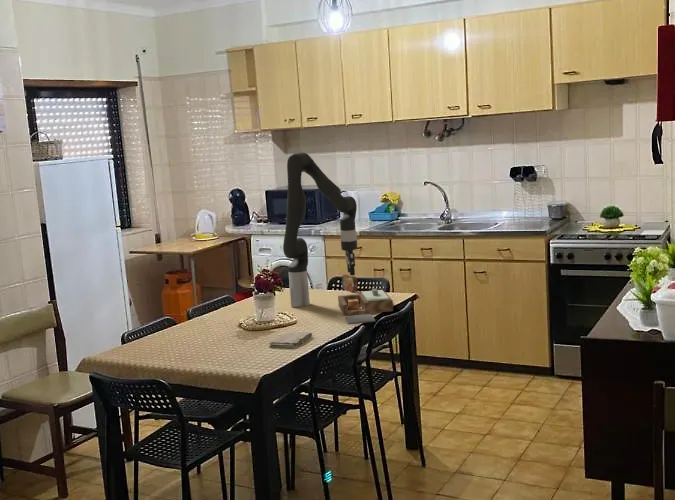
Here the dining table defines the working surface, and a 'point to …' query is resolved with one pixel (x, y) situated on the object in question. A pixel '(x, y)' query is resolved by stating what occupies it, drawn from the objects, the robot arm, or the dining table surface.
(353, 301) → the block
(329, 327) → the dining table surface
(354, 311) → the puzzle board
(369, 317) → the rubber mat
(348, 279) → the tin
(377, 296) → the cover
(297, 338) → the washcloth
